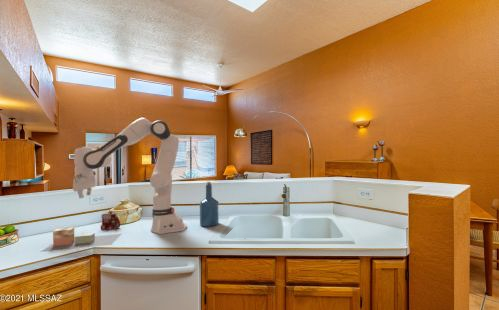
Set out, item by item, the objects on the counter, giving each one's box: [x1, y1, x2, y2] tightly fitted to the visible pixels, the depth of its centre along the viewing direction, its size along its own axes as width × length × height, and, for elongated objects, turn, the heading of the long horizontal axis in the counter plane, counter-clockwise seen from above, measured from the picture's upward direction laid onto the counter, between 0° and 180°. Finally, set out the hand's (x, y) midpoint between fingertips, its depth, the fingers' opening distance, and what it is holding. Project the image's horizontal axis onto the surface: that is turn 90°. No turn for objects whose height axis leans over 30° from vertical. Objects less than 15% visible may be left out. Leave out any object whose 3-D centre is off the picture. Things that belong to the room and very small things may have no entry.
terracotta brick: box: [52, 234, 75, 246], centre depth 122 cm, size 8×4×4 cm, turn 104°
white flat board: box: [40, 233, 122, 252], centre depth 124 cm, size 32×17×1 cm, turn 104°
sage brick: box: [74, 232, 96, 244], centre depth 124 cm, size 8×4×4 cm, turn 104°
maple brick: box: [52, 227, 75, 240], centre depth 122 cm, size 8×4×4 cm, turn 104°
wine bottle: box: [199, 181, 220, 228], centre depth 157 cm, size 14×13×30 cm
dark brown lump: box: [100, 213, 121, 231], centre depth 149 cm, size 7×12×10 cm, turn 84°
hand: (85, 196), depth 133 cm, fingers open, 8 cm apart
